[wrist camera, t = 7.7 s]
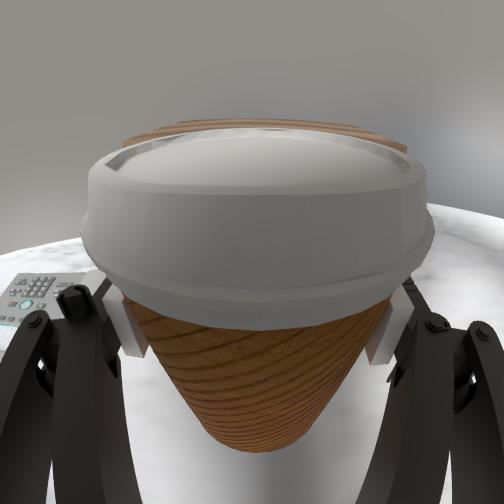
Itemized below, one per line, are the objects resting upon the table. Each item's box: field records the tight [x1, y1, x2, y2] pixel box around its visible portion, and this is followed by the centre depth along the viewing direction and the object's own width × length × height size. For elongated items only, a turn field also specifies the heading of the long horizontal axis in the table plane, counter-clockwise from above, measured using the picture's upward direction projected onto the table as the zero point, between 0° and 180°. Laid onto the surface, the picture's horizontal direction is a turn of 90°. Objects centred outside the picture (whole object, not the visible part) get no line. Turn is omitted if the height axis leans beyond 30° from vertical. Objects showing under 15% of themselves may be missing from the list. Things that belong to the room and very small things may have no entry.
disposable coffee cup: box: [80, 128, 435, 453], centre depth 10 cm, size 10×10×12 cm
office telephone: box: [0, 269, 106, 362], centre depth 32 cm, size 23×3×20 cm
